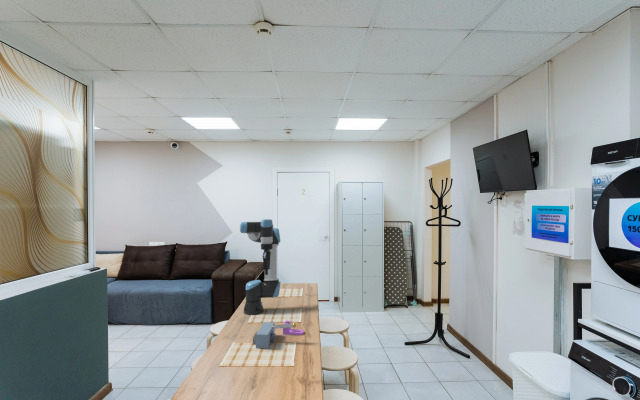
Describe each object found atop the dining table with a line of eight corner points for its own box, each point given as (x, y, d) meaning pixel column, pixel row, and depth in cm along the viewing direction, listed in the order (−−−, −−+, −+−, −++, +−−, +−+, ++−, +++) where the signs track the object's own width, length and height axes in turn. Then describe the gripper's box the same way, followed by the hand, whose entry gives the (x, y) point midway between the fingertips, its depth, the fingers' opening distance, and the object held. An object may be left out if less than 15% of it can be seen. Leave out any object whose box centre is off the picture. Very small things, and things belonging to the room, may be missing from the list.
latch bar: (272, 327, 183) (272, 324, 183) (296, 326, 182) (296, 322, 183) (271, 329, 181) (271, 325, 181) (296, 328, 180) (295, 324, 180)
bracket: (282, 334, 191) (282, 323, 192) (284, 331, 197) (284, 320, 197) (303, 335, 190) (302, 324, 190) (304, 331, 196) (304, 321, 196)
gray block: (256, 338, 187) (256, 331, 187) (276, 338, 186) (276, 332, 186) (252, 344, 178) (252, 337, 178) (273, 344, 178) (273, 337, 178)
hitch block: (263, 334, 192) (263, 322, 192) (274, 334, 191) (274, 322, 191) (255, 347, 174) (255, 334, 174) (267, 348, 173) (267, 334, 173)
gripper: (263, 241, 202) (263, 277, 202) (258, 244, 189) (258, 281, 189) (274, 241, 202) (274, 277, 201) (270, 244, 189) (270, 282, 188)
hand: (266, 279), depth 195 cm, fingers closed
